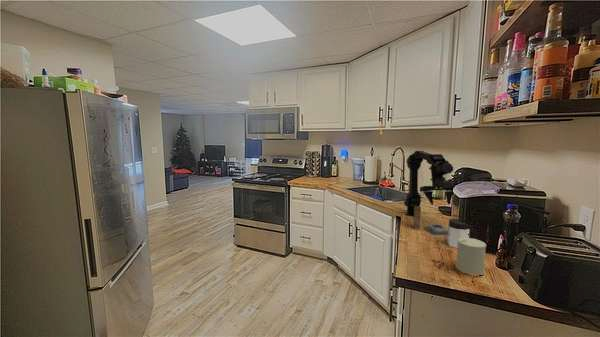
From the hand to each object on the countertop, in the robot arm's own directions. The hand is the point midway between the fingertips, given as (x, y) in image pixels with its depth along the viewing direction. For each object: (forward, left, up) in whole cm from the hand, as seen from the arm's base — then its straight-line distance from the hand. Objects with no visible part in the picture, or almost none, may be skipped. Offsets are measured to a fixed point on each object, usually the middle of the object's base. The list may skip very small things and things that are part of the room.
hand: (440, 204), depth 135 cm
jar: (+14, +10, -16) cm, 24 cm away
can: (+38, +16, -16) cm, 44 cm away
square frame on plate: (-1, -1, -16) cm, 16 cm away
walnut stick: (+1, -11, -16) cm, 19 cm away
